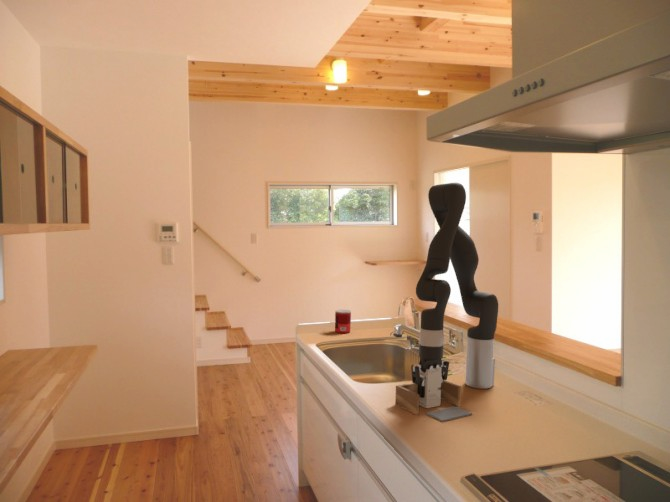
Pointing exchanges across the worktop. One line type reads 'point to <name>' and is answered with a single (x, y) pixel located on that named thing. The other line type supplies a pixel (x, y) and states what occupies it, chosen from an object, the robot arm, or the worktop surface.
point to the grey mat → (448, 413)
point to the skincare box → (431, 388)
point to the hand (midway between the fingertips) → (429, 395)
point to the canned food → (342, 321)
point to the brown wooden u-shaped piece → (410, 398)
